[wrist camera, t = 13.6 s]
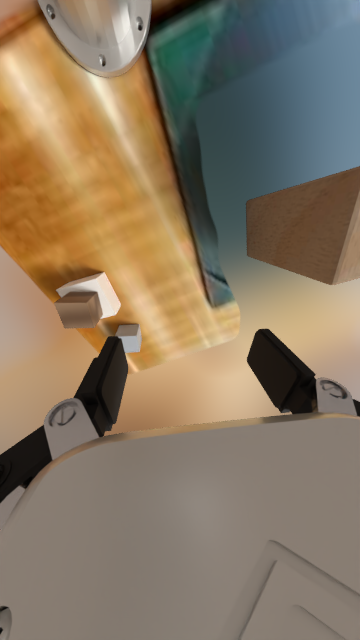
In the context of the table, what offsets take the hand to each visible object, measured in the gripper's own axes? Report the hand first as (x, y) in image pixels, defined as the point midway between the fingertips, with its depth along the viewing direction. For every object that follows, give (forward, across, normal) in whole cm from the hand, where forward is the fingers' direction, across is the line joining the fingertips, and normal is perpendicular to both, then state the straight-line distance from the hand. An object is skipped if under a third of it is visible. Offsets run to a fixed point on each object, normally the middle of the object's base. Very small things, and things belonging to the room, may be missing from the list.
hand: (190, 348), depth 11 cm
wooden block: (+26, -20, -8) cm, 34 cm away
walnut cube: (+22, +17, +6) cm, 28 cm away
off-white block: (+27, +17, +6) cm, 32 cm away
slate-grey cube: (+26, +11, +17) cm, 33 cm away
